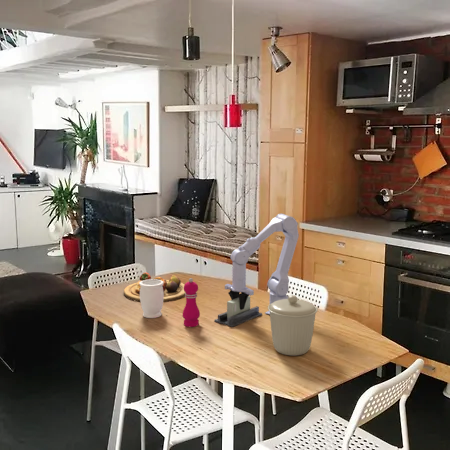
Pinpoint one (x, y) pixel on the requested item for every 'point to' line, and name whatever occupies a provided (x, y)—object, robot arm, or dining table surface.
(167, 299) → the wooden plate with food
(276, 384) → the dining table surface
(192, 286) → the pepper mill
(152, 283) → the jar
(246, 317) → the rail
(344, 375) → the dining table surface
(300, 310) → the canister
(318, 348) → the dining table surface
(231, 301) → the sage green block
